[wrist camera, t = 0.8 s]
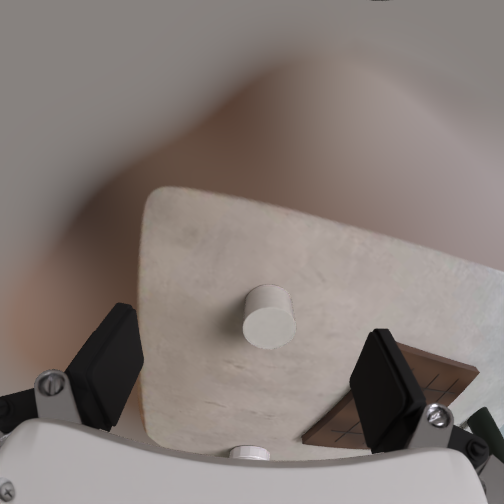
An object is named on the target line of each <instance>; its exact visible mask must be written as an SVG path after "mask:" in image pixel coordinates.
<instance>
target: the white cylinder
mask: <svg viewBox="0 0 504 504" xmlns="http://www.w3.org/2000/svg"><path fill="white" fill-rule="evenodd" d="M242 329H243V334H244V336H245V338H246V339H247V341H248V342H249V343H251V344H252V345H254V346H256V347H258V348H262V349H276V348H279V347H282V346H284V345H286V344H287V343H288V342H290V341H291V339H292V338H293V337H294V335H295V332H296V322H295V316H294V310H293V304H292V299H291V297H290V295H289V293H288V292H287V291H286V290H285V289H283V288H282V287H279V286H277V285H271V284H267V285H261V286H258V287H256V288H255V289H253V290H252V291H251V292H250V293H249V294H248V296H247V298H246V300H245V308H244V318H243V328H242Z"/></svg>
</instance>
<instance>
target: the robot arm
mask: <svg viewBox="0 0 504 504" xmlns="http://www.w3.org/2000/svg"><path fill="white" fill-rule="evenodd" d="M143 363H144V357H143V351H142V346H141V340H140V334H139V328H138V321H137V314H136V310H135V309H133V308H132V306H131V305H129V304H124V303H117V304H116V305H115V306H114V307H113V309H112V310H111V311H110V312H109V314H108V315H107V316H106V317H105V319H104V320H103V321H102V323H101V324H100V325H99V327H98V328H97V329H96V331H94V332H93V333H92V335H91V336H90V337H89V338H88V340H87V341H86V343H85V344H84V345H83V347H82V348H81V349H80V351H79V352H78V354H77V355H76V356H75V358H74V359H73V360H72V362H71V363H70V365H69V366H68V368H67V369H66V370H65V372H62V371H60V370H55V369H52V370H47V371H44V372H43V373H41V374H40V375H39V376H38V377H37V378H36V380H35V383H34V388H32V389H29V390H25V391H21V392H17V393H13V394H10V395H5V396H1V397H0V504H504V464H503V463H502V462H501V461H500V460H499V459H498V458H496V457H495V456H494V455H493V454H492V455H491V456H489V447H488V445H487V443H486V442H485V441H484V440H483V439H482V438H480V437H478V436H476V435H474V434H472V433H470V432H468V431H465V430H463V429H461V428H459V427H457V426H455V425H453V423H454V417H453V414H452V412H451V411H450V409H448V408H447V407H446V406H445V405H443V404H440V403H431V404H428V405H427V403H426V398H425V396H424V394H423V392H422V390H421V388H420V386H419V384H418V382H417V380H416V378H415V376H414V374H413V372H412V370H411V369H410V367H409V365H408V363H407V361H406V359H405V357H404V356H403V354H402V352H401V350H400V348H399V347H398V345H397V343H396V341H395V340H394V338H393V336H392V334H391V333H390V331H389V330H388V329H374V330H373V332H370V333H369V335H368V337H367V340H366V342H365V344H364V347H363V349H362V352H361V354H360V356H359V359H358V361H357V363H356V366H355V368H354V370H353V372H352V375H351V377H350V382H349V383H350V388H351V391H352V395H353V398H354V401H355V405H356V408H357V412H358V416H359V419H360V423H361V426H362V430H363V434H364V438H365V441H366V445H367V447H368V448H371V452H372V454H373V455H366V456H358V457H349V458H339V459H327V460H308V461H267V460H248V459H235V458H225V457H217V456H209V455H202V454H196V453H190V452H184V451H179V450H173V449H169V448H164V447H159V446H155V445H151V444H147V443H143V442H139V441H135V440H132V439H128V438H124V437H120V436H117V435H114V434H111V433H108V432H110V430H111V427H112V426H116V424H117V422H118V420H119V418H120V415H121V413H122V411H123V409H124V406H125V404H126V402H127V399H128V397H129V395H130V393H131V390H132V388H133V386H134V384H135V382H136V379H137V377H138V375H139V373H140V371H141V369H142V366H143ZM99 429H102V430H105V431H108V432H104V431H102V430H99ZM381 452H384V453H381ZM376 453H380V454H376Z"/></svg>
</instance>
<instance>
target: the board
mask: <svg viewBox="0 0 504 504" xmlns="http://www.w3.org/2000/svg"><path fill="white" fill-rule="evenodd" d="M396 343H397V345H398V347H399V348H400V350H401V352H402V354H403V356H404V357H405V359H406V361H407V363H408V365H409V367H410V369H411V370H412V372H413V374H414V376H415V378H416V380H417V382H418V384H419V386H420V388H421V390H422V392H423V394H424V396H425V398H426V403H427V405H428V404H431V403H440V404H443V405H445V406H446V407H448V406H449V405H450V404H451V403H452V402H453V401H454V400H455V399H456V398H457V397H458V396H459V395H460V394H461V393H462V392H463V391H464V390H465V388H466V387H467V386H468V385H469V384H470V383H471V382H472V381H473V380H474V379H475V377H476V376H477V375H478V374H479V373H480V372H479V371H478V370H477V368H476V367H474V366H470V365H467V364H464V363H460V362H457V361H454V360H451V359H447V358H444V357H441V356H438V355H435V354H431V353H428V352H425V351H422V350H419V349H416V348H413V347H410V346H407V345H404V344H401V343H398V342H396ZM302 444H307V445H315V446H324V447H334V448H347V449H371V448H368V447H367V445H366V441H365V438H364V434H363V430H362V426H361V423H360V419H359V416H358V412H357V408H356V405H355V401H354V398H353V395H352V391H350V392H349V393H348V394H347V395H346V396H345V397H344V398H343V399H342V400H341V401H340V402H339V403H338V404H337V405H336V406H335V407H334V408H333V409H332V410H331V411H330V412H329V413H328V414H327V415H326V416H324V417H323V418H322V419H321V420H320V421H319V422H318V423H317V424H316V425H315V426H313V427H312V428H311V429H310V430H309V431H308V432H307V433H305V434H304V435H303V436H302Z"/></svg>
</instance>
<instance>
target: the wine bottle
mask: <svg viewBox="0 0 504 504" xmlns="http://www.w3.org/2000/svg"><path fill="white" fill-rule="evenodd" d="M467 423H468V425H469V427H470V429H471V431H472V433H473V434H474V435H476V436H478V437H480V438H482V439H483V440H484V441H485V442H486V443H487V445H488V447H489V456H491V455H492V454H493V455H494V456H495V457H496V458H498V459H499V460H500V461H501V462H502V463H503V464H504V439H503V437H502V434H501V432H500V431H499V429H498V427H497V425H496V423H495V421H494V419H493V418H492V416H491V414H490V412H489V411H488V409H487V407H484V408H481V409H480V410H478V411H477V412H476V413H474V414H473V415H472V416H471V417H470V418H469V420H468V422H467Z"/></svg>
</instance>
